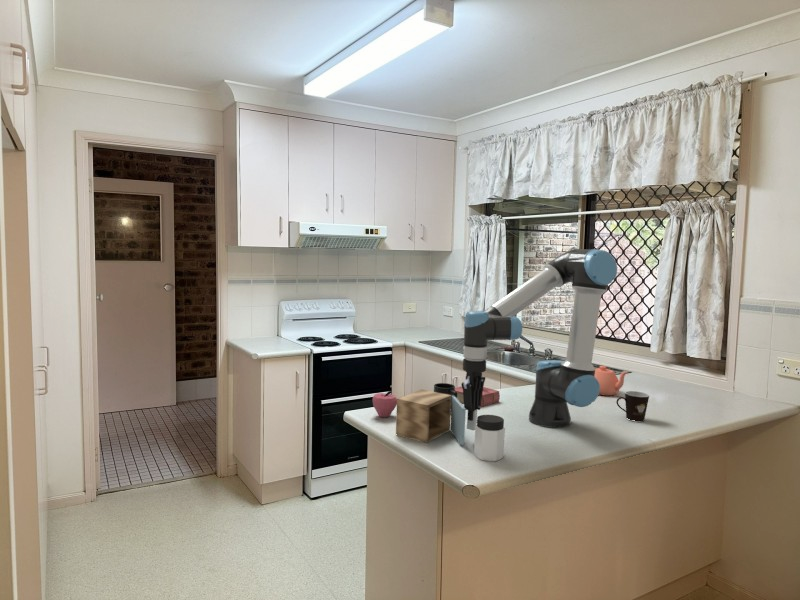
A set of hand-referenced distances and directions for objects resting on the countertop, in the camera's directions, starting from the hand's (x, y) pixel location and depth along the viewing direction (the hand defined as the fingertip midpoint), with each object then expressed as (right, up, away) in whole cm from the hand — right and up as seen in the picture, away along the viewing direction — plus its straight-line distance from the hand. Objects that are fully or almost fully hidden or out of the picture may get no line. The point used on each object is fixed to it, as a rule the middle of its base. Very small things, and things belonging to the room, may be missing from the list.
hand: (471, 429), depth 184 cm
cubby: (-16, -3, +8) cm, 18 cm away
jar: (+4, -6, -12) cm, 14 cm away
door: (-5, -4, +3) cm, 7 cm away
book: (+8, 0, +50) cm, 51 cm away
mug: (-6, -1, +35) cm, 36 cm away
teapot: (+69, 0, +71) cm, 99 cm away
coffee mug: (+66, -4, +32) cm, 73 cm away
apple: (-29, -1, +25) cm, 38 cm away
